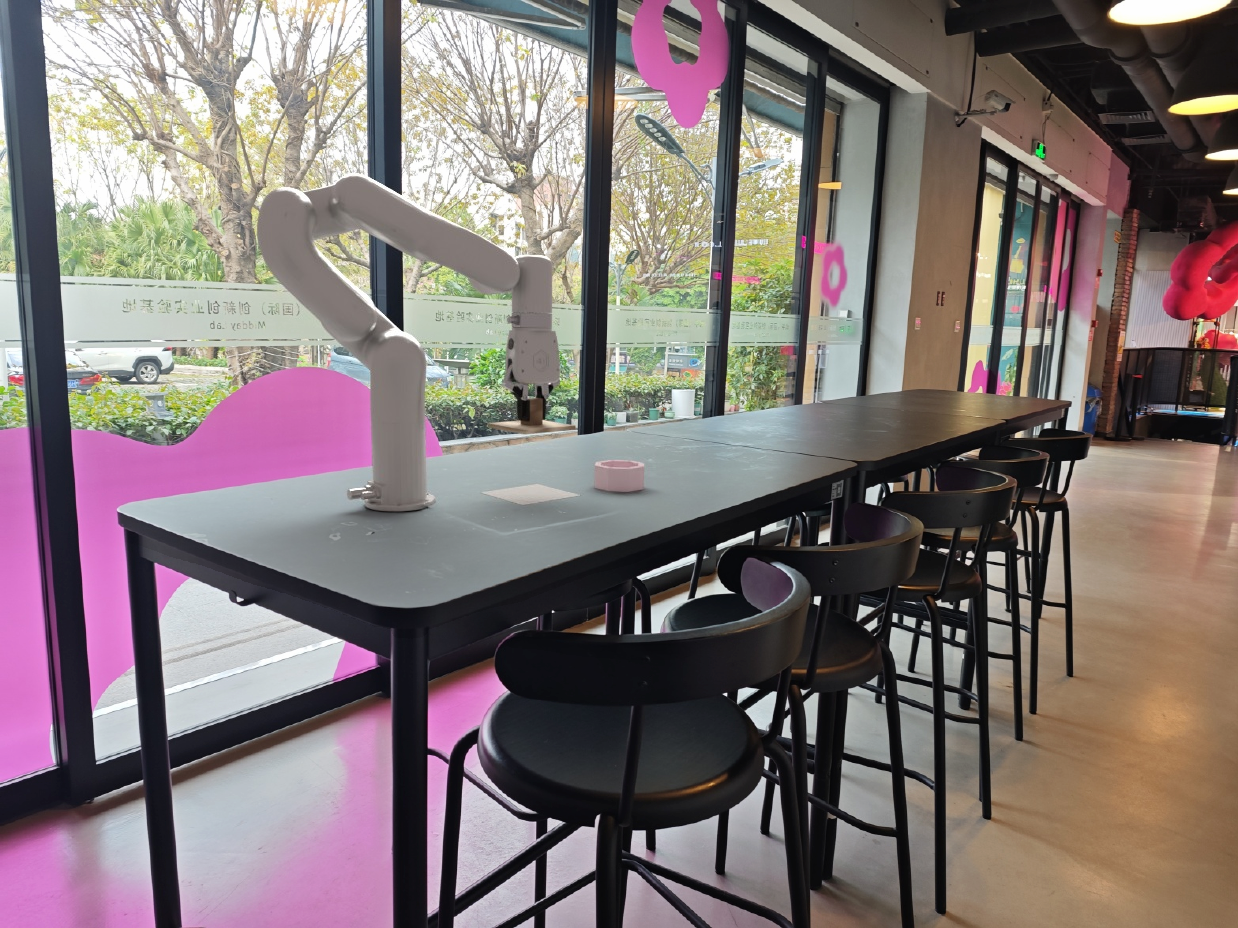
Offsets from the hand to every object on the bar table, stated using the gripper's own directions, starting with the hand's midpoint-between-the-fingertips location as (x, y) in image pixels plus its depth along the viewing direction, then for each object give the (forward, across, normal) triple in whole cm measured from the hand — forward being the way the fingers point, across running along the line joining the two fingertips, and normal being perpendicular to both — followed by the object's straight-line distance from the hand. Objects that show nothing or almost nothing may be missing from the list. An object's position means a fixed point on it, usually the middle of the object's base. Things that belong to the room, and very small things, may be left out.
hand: (531, 419), depth 160 cm
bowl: (+15, +19, -5) cm, 25 cm away
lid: (+2, 0, 0) cm, 2 cm away
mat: (+15, 0, 0) cm, 15 cm away
